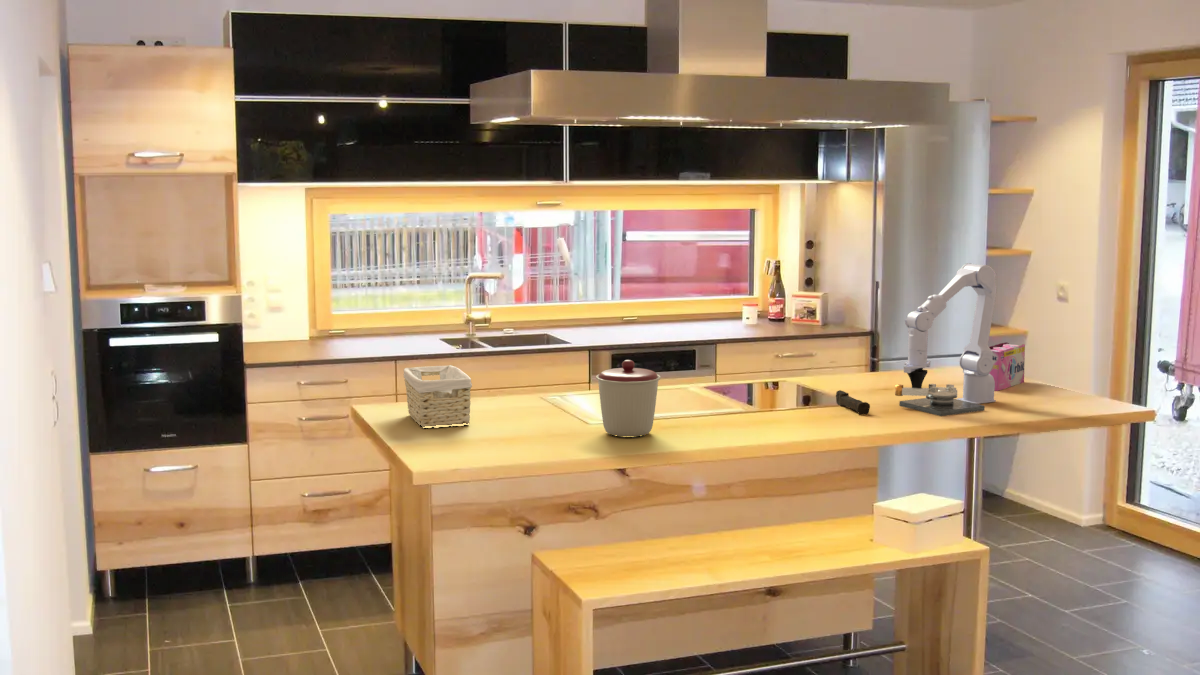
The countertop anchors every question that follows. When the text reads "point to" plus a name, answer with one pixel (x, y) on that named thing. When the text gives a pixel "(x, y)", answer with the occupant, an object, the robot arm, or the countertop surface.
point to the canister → (628, 399)
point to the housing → (942, 406)
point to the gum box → (1007, 365)
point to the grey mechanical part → (928, 391)
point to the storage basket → (438, 395)
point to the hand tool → (852, 403)
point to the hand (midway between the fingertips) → (916, 392)
